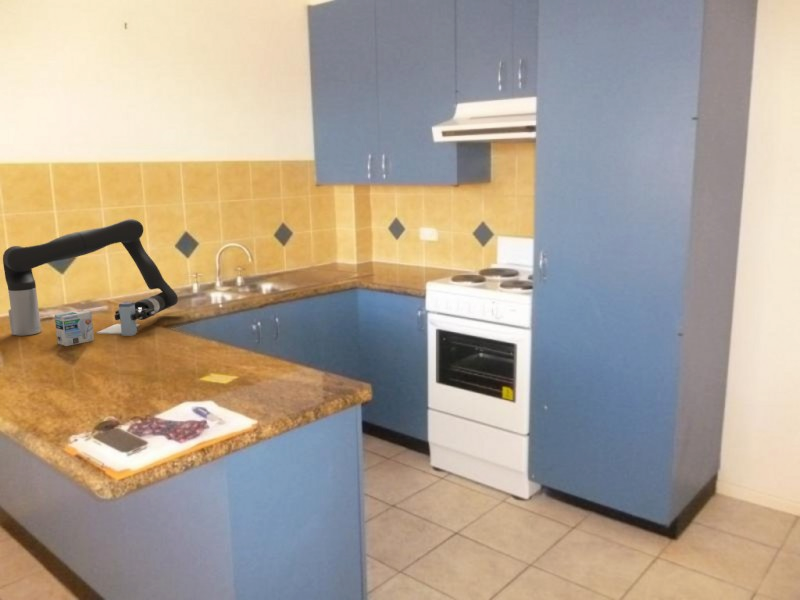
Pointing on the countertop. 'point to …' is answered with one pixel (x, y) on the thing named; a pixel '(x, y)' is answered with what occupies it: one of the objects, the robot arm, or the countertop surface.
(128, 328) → the blue post
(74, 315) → the light bulb box
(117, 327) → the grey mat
